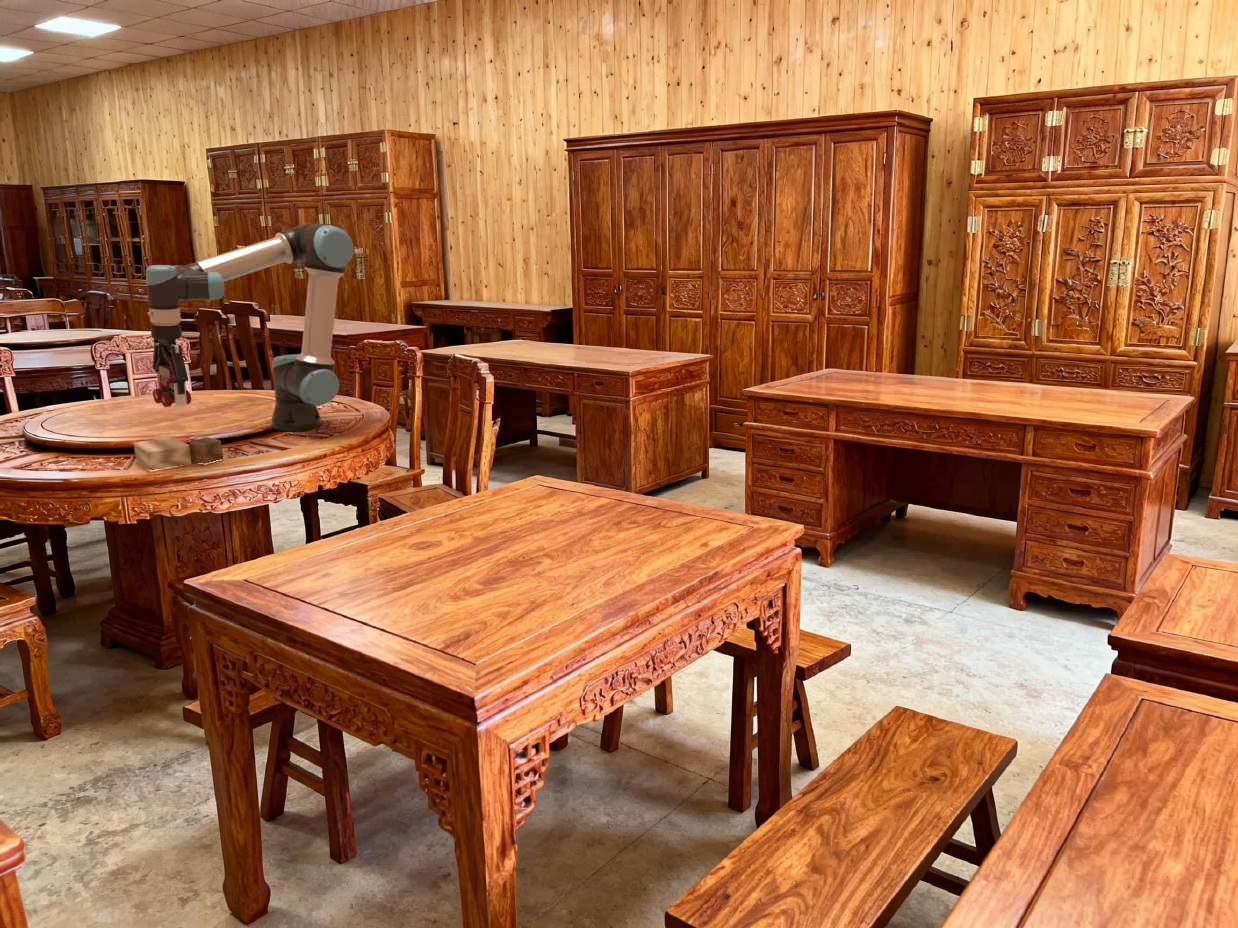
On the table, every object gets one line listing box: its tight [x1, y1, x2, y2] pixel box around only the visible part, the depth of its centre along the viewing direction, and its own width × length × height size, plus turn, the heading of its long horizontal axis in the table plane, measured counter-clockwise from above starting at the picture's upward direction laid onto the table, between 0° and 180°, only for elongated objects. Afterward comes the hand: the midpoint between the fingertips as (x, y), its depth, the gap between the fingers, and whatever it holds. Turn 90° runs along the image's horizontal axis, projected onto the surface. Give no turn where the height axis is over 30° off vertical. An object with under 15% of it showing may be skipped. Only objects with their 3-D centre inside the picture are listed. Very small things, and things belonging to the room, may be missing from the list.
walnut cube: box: [188, 436, 224, 464], centre depth 261 cm, size 6×6×6 cm
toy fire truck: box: [152, 364, 192, 408], centre depth 255 cm, size 7×12×10 cm, turn 48°
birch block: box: [133, 435, 192, 470], centre depth 258 cm, size 11×11×6 cm
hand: (172, 400), depth 256 cm, fingers closed on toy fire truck, 12 cm apart
